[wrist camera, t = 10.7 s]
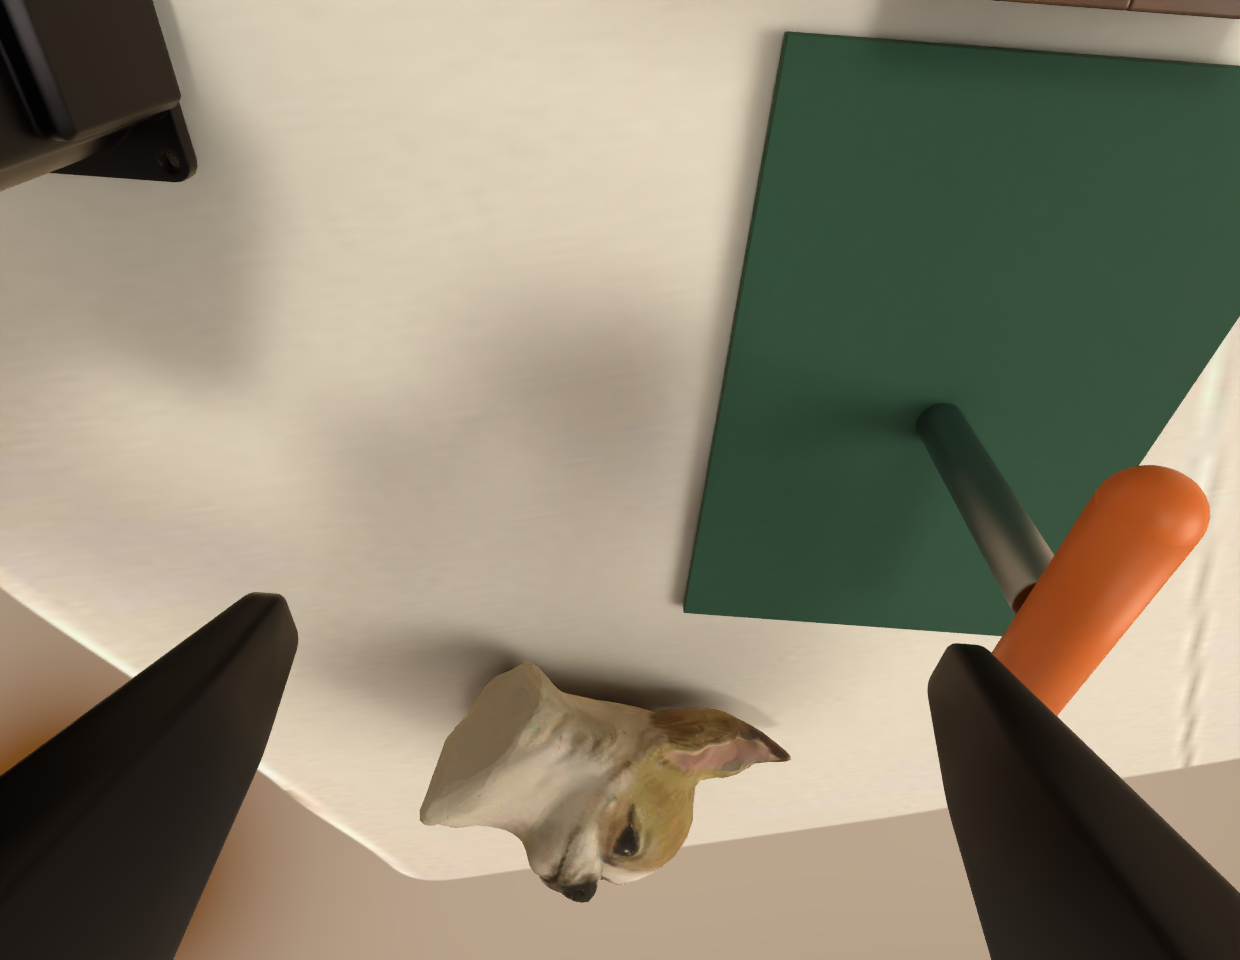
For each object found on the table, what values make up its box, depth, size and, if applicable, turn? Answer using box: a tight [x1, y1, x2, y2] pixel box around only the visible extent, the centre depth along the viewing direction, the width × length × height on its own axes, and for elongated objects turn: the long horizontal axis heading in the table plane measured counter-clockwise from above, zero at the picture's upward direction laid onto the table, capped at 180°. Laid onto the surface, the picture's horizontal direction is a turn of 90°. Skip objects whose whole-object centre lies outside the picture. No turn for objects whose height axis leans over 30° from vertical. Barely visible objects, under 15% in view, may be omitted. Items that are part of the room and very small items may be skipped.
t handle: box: [916, 403, 1210, 716], centre depth 18 cm, size 2×9×9 cm, turn 177°
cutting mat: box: [683, 32, 1240, 636], centre depth 22 cm, size 14×20×1 cm
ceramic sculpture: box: [420, 662, 791, 902], centre depth 30 cm, size 11×9×15 cm
